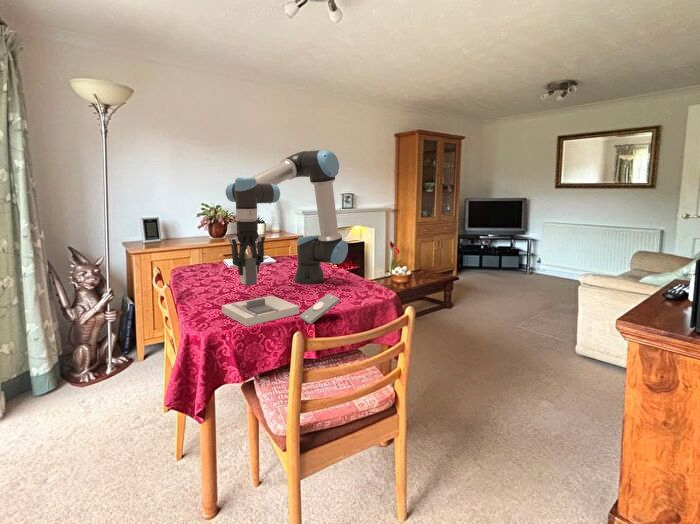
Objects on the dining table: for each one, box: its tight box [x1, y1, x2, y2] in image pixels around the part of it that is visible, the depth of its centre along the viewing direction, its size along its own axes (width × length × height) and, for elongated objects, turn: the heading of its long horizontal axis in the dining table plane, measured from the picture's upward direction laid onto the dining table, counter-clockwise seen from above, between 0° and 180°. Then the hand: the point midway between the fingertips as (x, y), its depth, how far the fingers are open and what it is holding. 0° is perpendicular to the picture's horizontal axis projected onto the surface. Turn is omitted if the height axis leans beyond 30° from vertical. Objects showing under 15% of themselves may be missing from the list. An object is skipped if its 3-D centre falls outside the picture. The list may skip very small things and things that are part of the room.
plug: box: [242, 253, 258, 287], centre depth 151 cm, size 4×4×11 cm
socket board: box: [221, 295, 300, 327], centre depth 155 cm, size 20×22×4 cm
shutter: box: [246, 297, 273, 314], centre depth 149 cm, size 7×7×3 cm
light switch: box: [298, 293, 341, 325], centre depth 150 cm, size 8×6×14 cm
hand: (249, 282), depth 152 cm, fingers closed on plug, 4 cm apart
